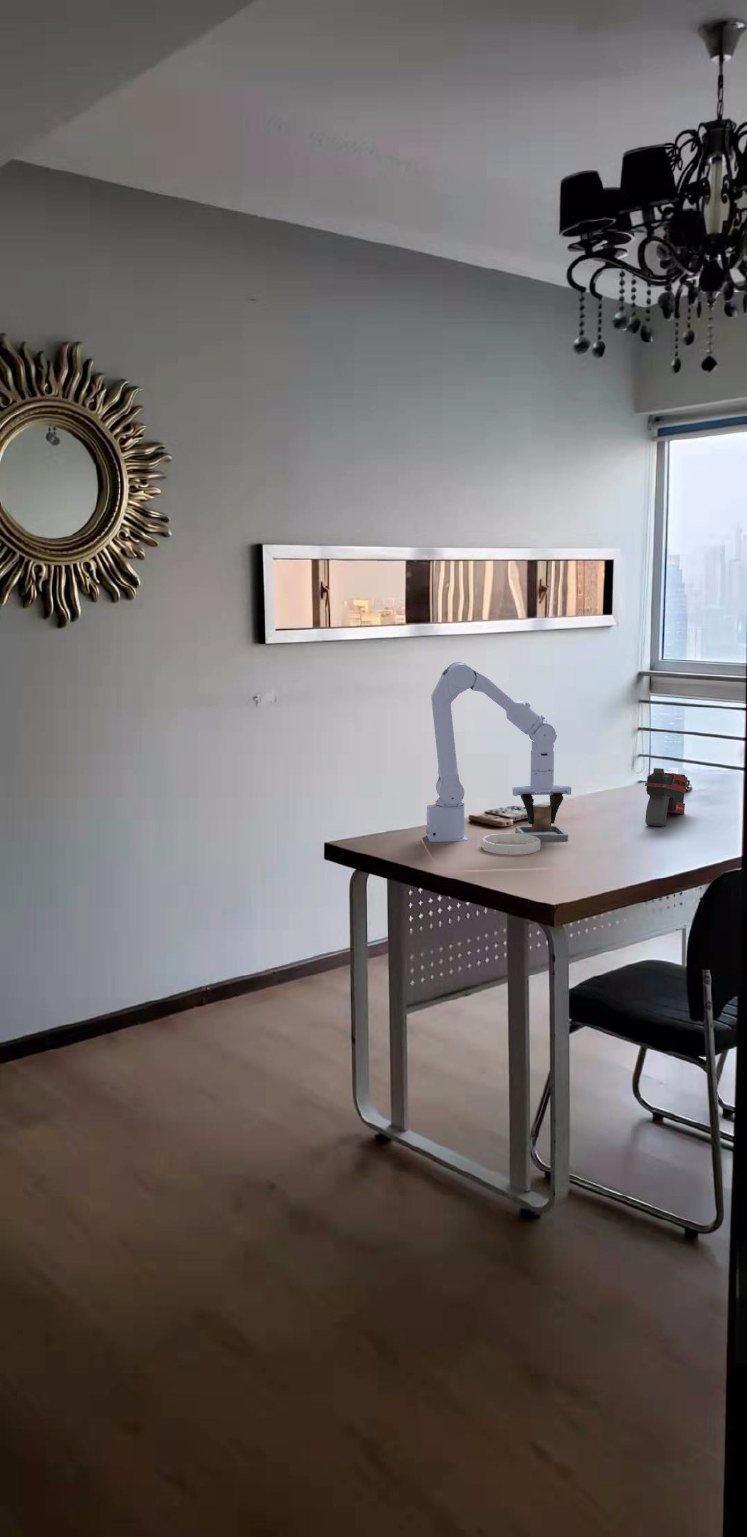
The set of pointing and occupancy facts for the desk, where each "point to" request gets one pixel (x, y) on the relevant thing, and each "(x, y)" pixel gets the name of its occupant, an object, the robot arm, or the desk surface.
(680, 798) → the toy gun
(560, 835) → the tray
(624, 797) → the desk surface
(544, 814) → the cylinder
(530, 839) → the bowl
